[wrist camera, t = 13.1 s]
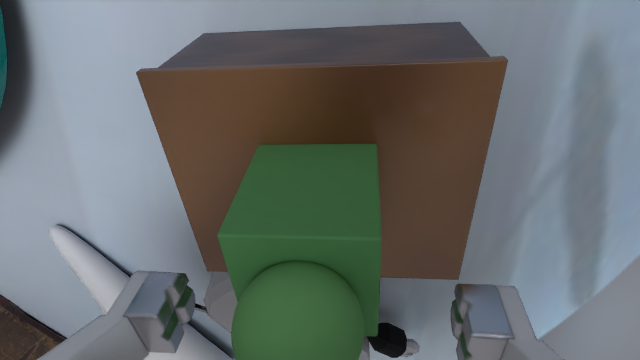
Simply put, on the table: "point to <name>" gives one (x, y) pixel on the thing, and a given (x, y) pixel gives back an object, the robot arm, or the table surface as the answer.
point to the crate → (337, 124)
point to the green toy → (305, 252)
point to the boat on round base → (2, 59)
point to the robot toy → (387, 341)
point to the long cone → (107, 283)
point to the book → (23, 335)
